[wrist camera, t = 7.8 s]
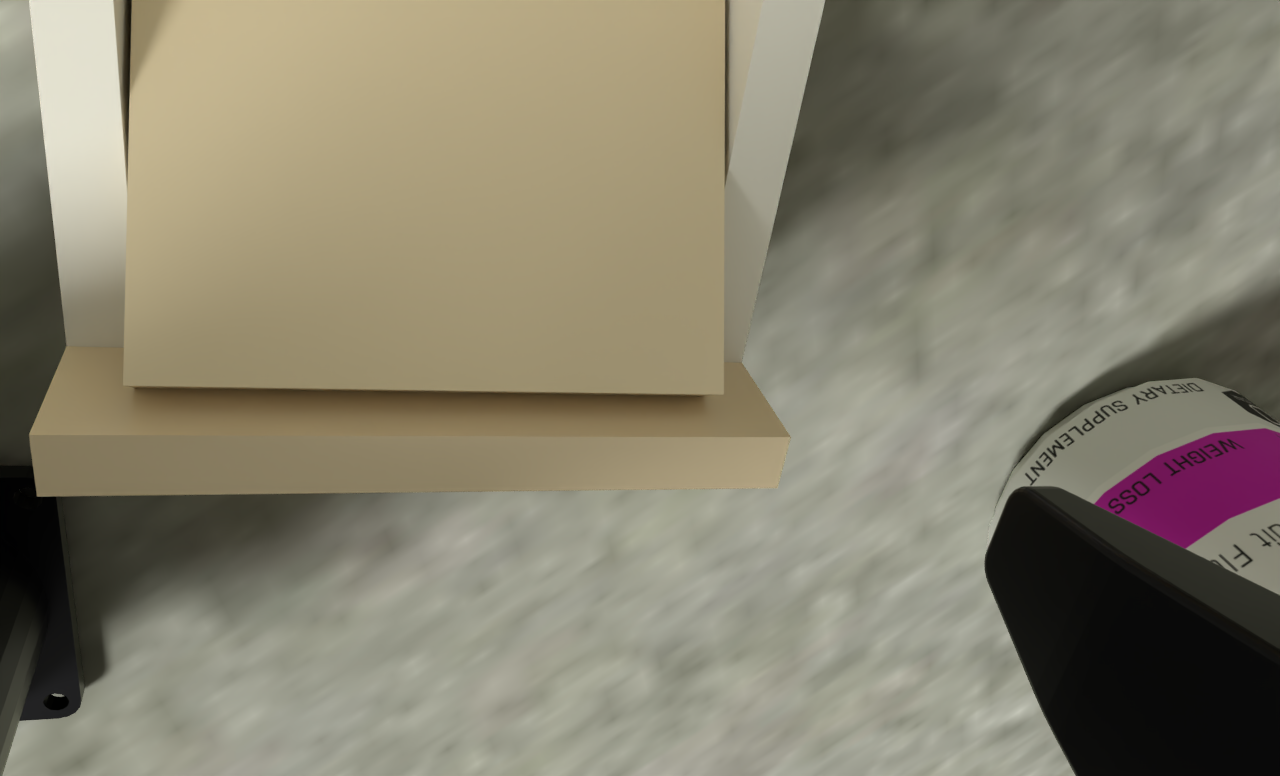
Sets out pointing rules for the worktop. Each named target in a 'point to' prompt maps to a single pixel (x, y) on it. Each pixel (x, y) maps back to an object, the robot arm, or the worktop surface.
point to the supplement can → (1172, 470)
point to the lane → (412, 242)
